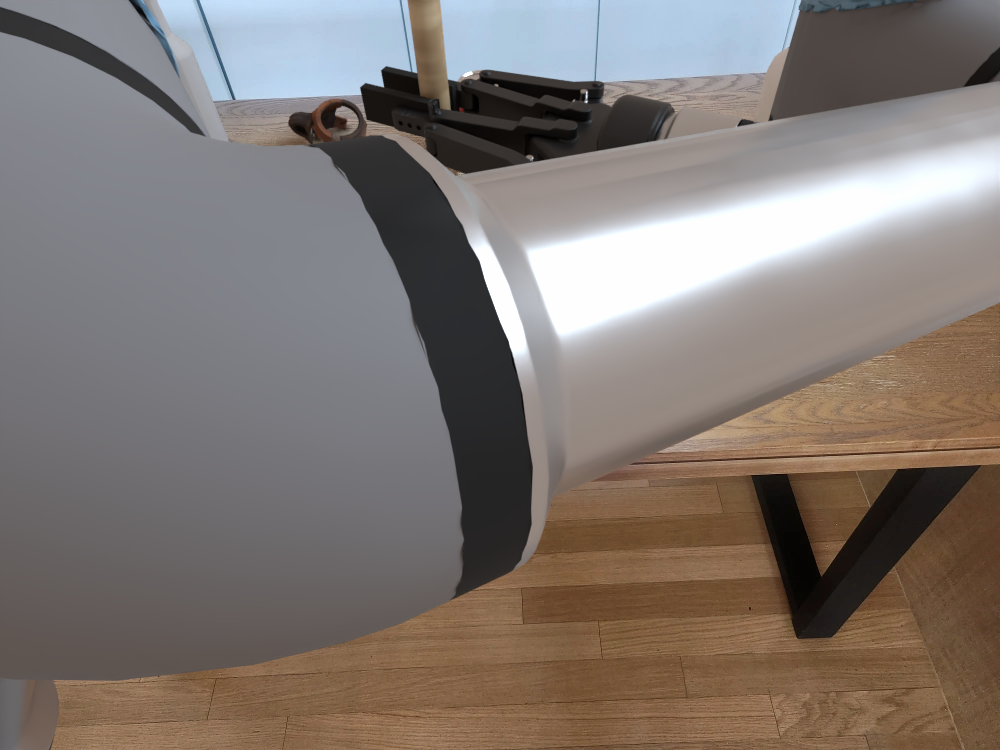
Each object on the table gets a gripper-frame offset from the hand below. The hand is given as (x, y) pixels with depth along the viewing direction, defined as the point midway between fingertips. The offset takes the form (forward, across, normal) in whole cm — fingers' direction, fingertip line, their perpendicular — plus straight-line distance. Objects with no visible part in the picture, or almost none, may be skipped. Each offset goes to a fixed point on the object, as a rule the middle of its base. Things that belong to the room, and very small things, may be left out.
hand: (376, 93), depth 53 cm
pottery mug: (+37, +32, -32) cm, 59 cm away
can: (-30, +52, -32) cm, 68 cm away
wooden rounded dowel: (-6, 0, -20) cm, 21 cm away
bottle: (+54, +22, -33) cm, 67 cm away
